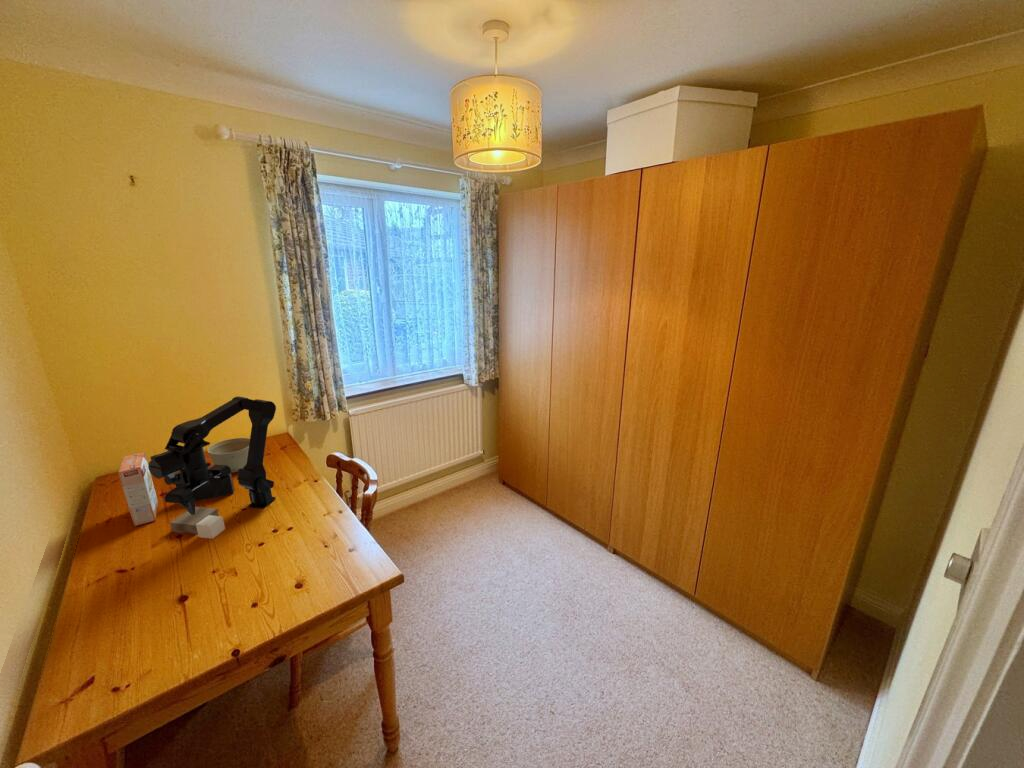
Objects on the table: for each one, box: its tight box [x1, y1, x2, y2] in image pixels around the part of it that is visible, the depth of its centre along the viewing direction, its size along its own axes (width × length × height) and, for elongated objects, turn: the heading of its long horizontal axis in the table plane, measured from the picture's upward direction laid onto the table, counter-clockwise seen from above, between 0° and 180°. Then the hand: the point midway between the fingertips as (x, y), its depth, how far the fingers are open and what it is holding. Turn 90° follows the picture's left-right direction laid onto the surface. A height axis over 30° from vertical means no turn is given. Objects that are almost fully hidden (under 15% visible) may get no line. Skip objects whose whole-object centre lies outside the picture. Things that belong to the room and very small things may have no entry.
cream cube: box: [196, 515, 226, 540], centre depth 131 cm, size 5×5×5 cm
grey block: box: [169, 506, 220, 535], centre depth 135 cm, size 9×9×4 cm
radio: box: [174, 456, 236, 502], centre depth 149 cm, size 19×3×15 cm, turn 114°
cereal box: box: [118, 452, 159, 527], centre depth 138 cm, size 14×6×21 cm, turn 37°
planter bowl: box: [206, 437, 250, 474], centre depth 171 cm, size 16×16×11 cm
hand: (205, 505), depth 128 cm, fingers open, 9 cm apart
